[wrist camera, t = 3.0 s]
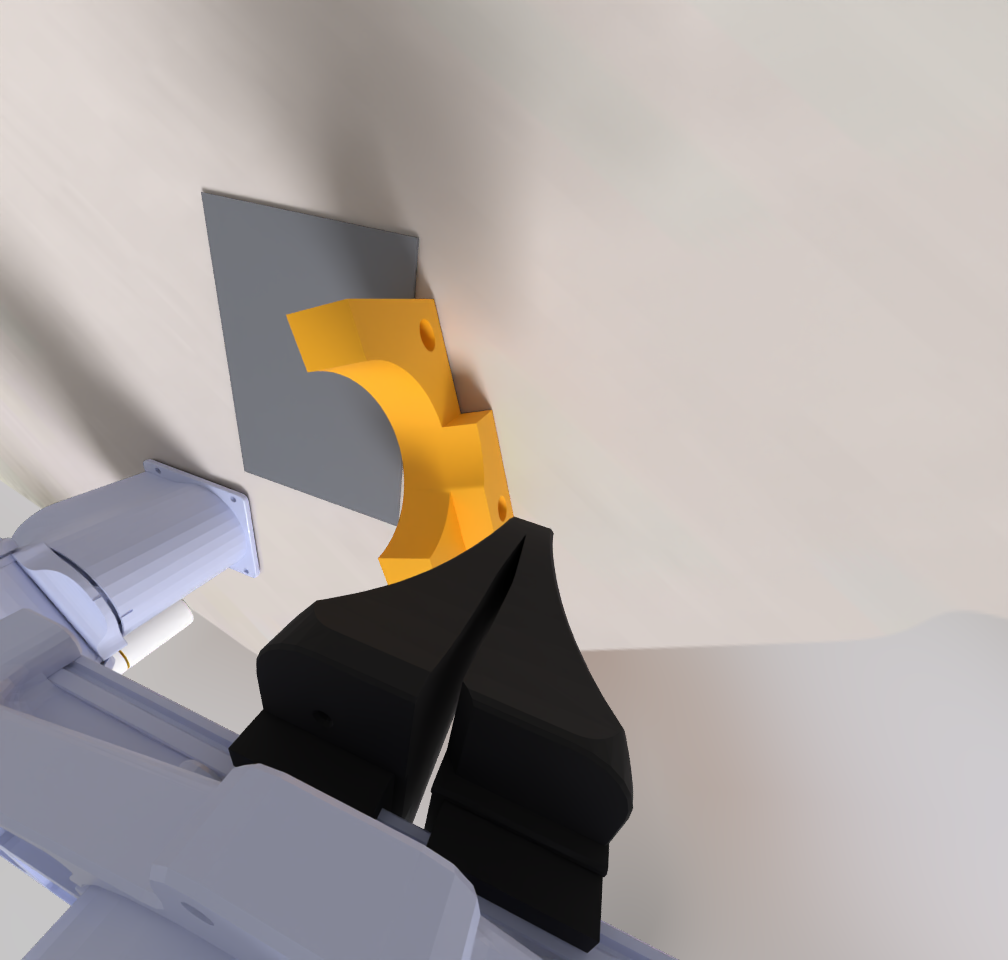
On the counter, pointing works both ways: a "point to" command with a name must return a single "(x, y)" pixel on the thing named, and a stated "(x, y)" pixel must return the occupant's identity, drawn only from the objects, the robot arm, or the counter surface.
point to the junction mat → (276, 357)
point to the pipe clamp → (415, 424)
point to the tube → (152, 635)
